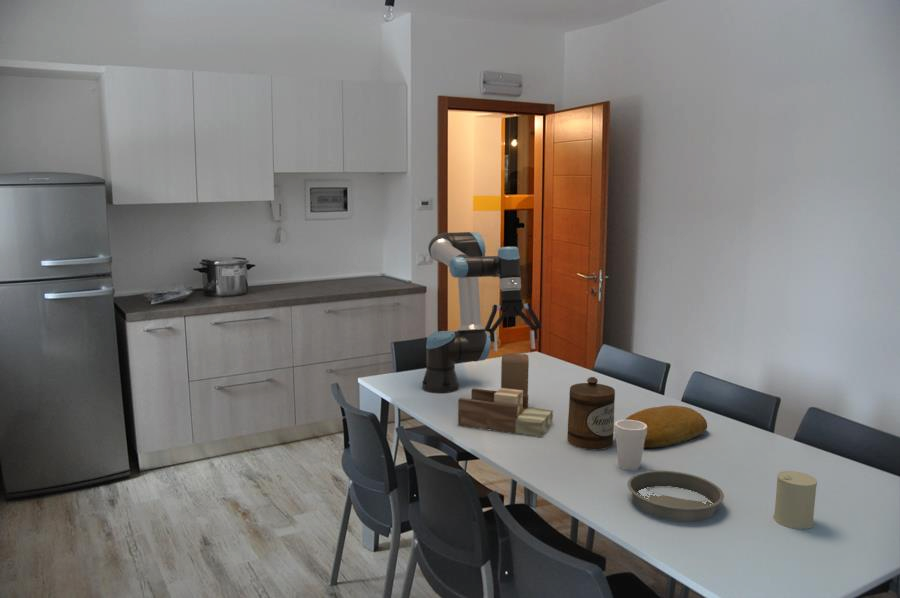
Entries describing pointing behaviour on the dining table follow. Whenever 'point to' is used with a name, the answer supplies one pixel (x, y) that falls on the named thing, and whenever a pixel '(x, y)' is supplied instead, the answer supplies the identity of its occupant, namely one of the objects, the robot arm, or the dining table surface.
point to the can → (795, 499)
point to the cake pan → (671, 505)
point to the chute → (502, 414)
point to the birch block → (510, 397)
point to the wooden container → (591, 415)
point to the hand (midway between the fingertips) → (514, 350)
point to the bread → (670, 424)
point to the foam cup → (630, 442)
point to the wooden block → (515, 372)
